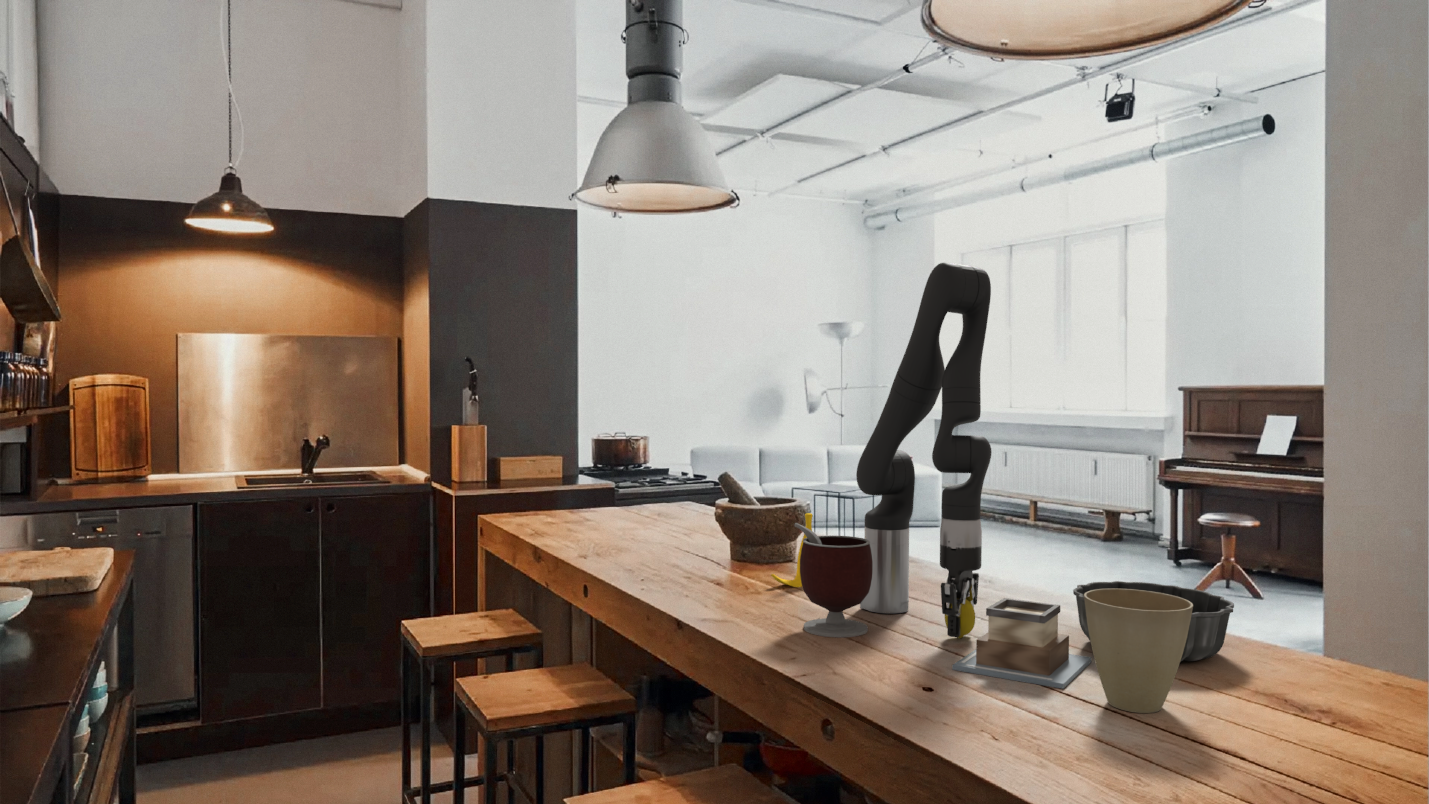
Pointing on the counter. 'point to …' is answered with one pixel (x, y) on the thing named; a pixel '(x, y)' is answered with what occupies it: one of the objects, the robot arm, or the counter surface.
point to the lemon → (965, 619)
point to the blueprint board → (1056, 679)
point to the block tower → (1023, 637)
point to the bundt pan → (1205, 617)
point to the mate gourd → (835, 580)
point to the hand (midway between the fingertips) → (959, 632)
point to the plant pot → (1137, 644)
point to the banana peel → (797, 579)
